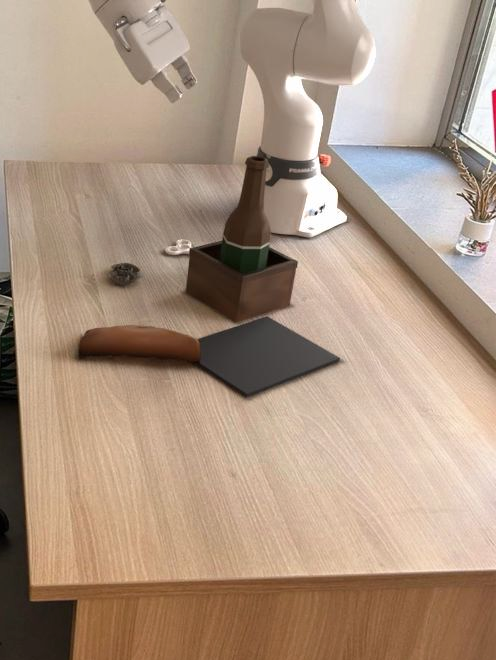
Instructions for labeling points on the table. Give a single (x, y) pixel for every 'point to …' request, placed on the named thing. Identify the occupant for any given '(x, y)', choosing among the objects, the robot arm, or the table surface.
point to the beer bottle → (248, 223)
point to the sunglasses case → (139, 343)
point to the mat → (260, 356)
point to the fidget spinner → (179, 248)
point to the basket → (239, 283)
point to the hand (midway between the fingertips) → (185, 92)
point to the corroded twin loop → (123, 273)
